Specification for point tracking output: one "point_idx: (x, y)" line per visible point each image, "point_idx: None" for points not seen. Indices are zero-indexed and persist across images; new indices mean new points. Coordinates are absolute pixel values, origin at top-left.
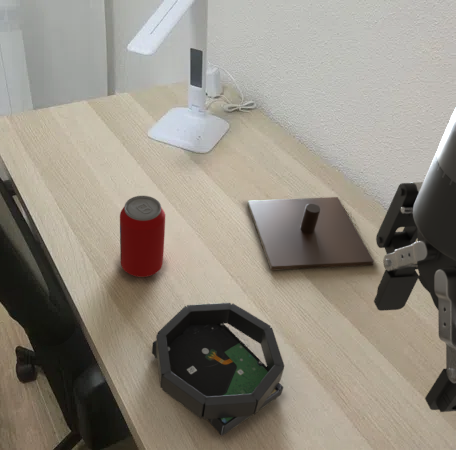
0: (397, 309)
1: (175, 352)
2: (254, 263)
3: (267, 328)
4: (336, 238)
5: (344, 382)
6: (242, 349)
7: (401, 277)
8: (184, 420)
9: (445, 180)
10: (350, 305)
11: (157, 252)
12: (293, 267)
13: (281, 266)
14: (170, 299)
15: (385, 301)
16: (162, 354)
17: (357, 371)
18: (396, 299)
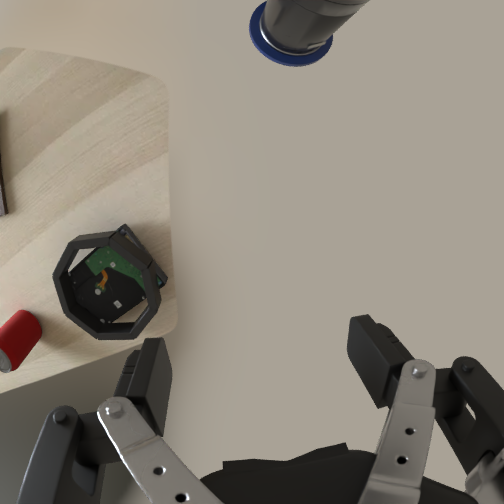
0: (164, 342)
1: (104, 315)
2: (4, 228)
3: (71, 246)
4: None
5: (109, 160)
6: (90, 259)
7: (156, 421)
8: None
9: None
10: (34, 141)
11: (22, 328)
12: (3, 192)
13: (3, 205)
14: (52, 304)
15: (168, 381)
16: (116, 337)
17: (98, 146)
18: (162, 369)
